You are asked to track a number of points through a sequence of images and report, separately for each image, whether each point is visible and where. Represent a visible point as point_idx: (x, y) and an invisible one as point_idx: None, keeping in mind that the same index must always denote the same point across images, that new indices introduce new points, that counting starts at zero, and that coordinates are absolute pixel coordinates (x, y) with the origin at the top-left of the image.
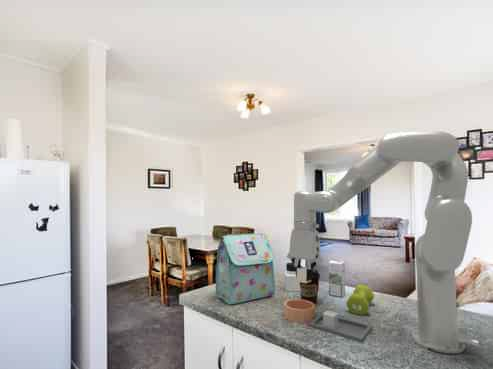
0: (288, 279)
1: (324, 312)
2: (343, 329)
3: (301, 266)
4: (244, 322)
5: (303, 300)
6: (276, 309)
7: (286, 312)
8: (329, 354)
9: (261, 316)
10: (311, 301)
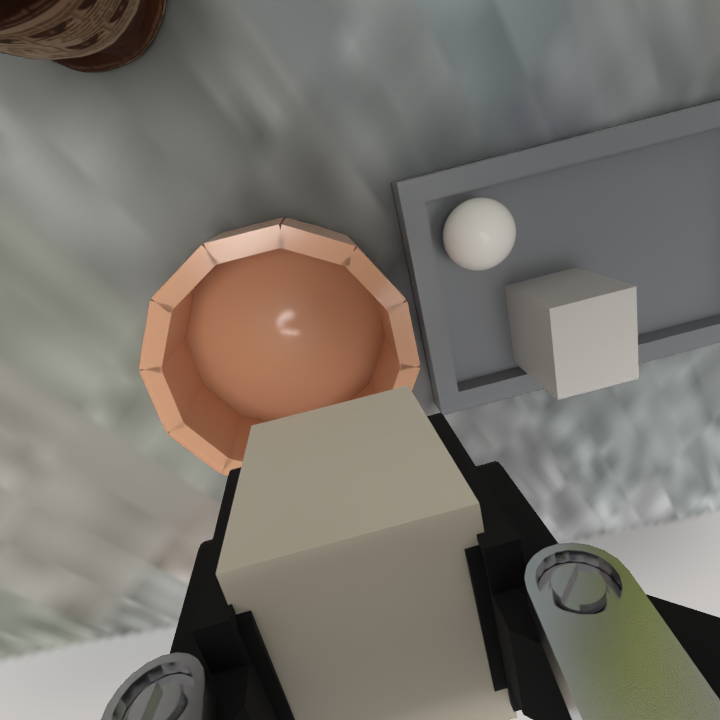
0: None
1: (473, 258)
2: (612, 267)
3: (239, 633)
4: (150, 626)
5: (230, 257)
6: (65, 362)
7: None
8: (644, 513)
9: (125, 516)
10: (142, 17)
